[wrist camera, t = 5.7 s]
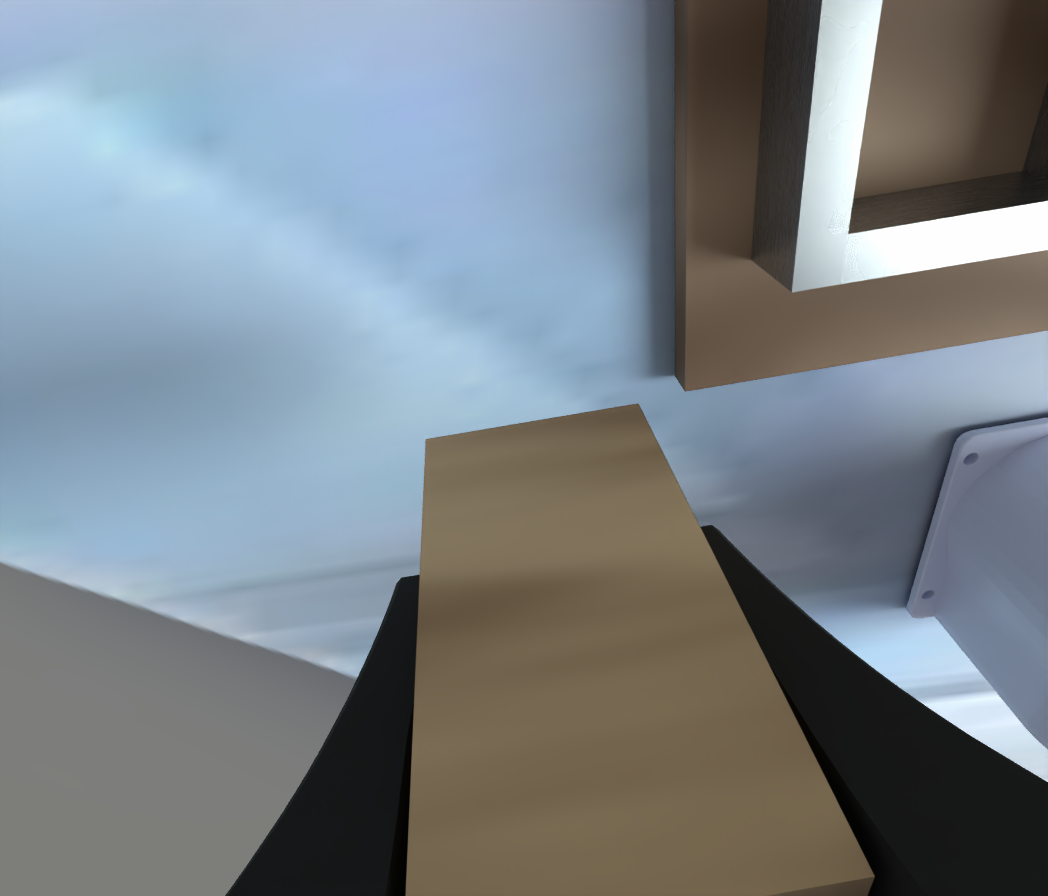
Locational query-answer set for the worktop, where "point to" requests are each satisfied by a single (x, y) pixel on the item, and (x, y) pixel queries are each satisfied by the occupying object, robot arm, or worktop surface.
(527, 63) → the worktop surface
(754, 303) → the socket board
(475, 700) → the peg
